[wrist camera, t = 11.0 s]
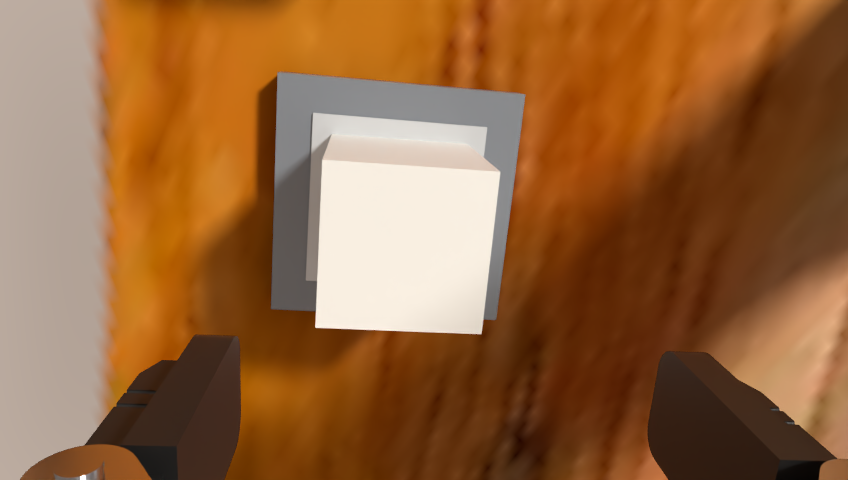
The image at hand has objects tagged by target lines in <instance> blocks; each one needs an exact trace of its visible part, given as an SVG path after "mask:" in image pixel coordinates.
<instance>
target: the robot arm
mask: <svg viewBox="0 0 848 480" xmlns="http://www.w3.org/2000/svg"><path fill="white" fill-rule="evenodd" d="M240 420H241V390H240V344H239V339H238V337H237V336H221V335H195V336H194V337H193V338H192V340H191V341H190V343H189V344H188V345H187V347H186V348H185V350H184V351H183V353H182V354H181V356H180V357H179V359H178V360H177V361H173V360H162V361H160V362H158V363H157V364H155V365H153V366H151V367H150V368H148V369H146V370H145V371H143V372H141V373H140V374H139V375H138V376H137V378H136V379H135V380H134V381H133V383H132V384H131V385H130V387H129V388H128V389H127V393H124V394H123V396H122V397H121V398H120V400H119V401H118V402H117V406H116V407H113V409H112V410H111V411H110V413H109V414H108V415H107V417H106V418H105V419H104V420H103V422H102V423H101V424H100V426H99V427H98V428H97V430H96V431H95V432H94V433H93V435H92V436H91V437H90V439H89V440H88V442H87V443H86V444H85V445H84V446H79V447H74V448H71V449H67V450H64V451H61V452H58V453H55V454H53V455H51V456H49V457H47V458H45V459H43V460H41V461H39V462H38V463H37V464H35V465H34V466H32V467H31V468H30V469H29V470H28V471H27V472H25V474H24V475H23V476H22V477H21V479H20V480H224V479H225V476H226V474H227V471H228V468H229V466H230V463H231V460H232V458H233V455H234V452H235V449H236V446H237V442H238V437H239V430H240ZM648 442H649V447H650V450H651V453H652V455H653V457H654V459H655V461H656V462H657V464H658V465H659V466H660V468H661V469H662V471H663V472H664V474H665V475H666V477H667V478H668V480H848V459H837V458H836V457H835V456H834V455H832V454H831V453H830V452H829V451H828V450H827V449H826V448H824V447H823V446H822V445H821V444H820V443H819V442H817V441H816V440H815V439H814V438H813V437H812V436H811V435H809V434H808V433H807V432H806V431H805V430H804V429H803V428H801V427H800V426H799V425H795V424H794V421H793V420H792V419H791V418H790V417H789V416H788V415H787V414H785V413H784V412H783V411H779V407H777V406H776V405H775V404H774V403H773V402H772V401H771V400H769V399H768V398H767V397H766V396H765V395H764V394H763V393H761V392H760V391H758V390H756V389H754V388H752V387H750V386H748V385H747V384H745V383H743V382H741V381H739V380H738V379H736V378H735V377H734V376H733V375H732V374H731V373H730V372H729V371H727V370H726V369H725V368H724V367H723V366H722V365H721V364H720V363H719V362H717V361H716V360H715V359H714V358H713V357H712V356H711V355H709V354H708V353H704V352H674V351H667V352H665V353H664V354H663V355H662V357H661V359H660V362H659V366H658V371H657V377H656V383H655V388H654V394H653V399H652V405H651V410H650V416H649V421H648Z"/></svg>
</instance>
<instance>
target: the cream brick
mask: <svg viewBox="0 0 848 480" xmlns="http://www.w3.org/2000/svg"><path fill="white" fill-rule="evenodd" d="M499 180H500V171H499V170H498V169H497V168H495V167H494V166H493V165H492V164H491V163H489V162H488V161H487V160H486V159H485V158H483V157H482V156H481V155H480V154H479V153H477V152H476V151H475V150H474V149H473V148H471V147H470V146H469V145H468V144H462V143H448V142H434V141H421V140H407V139H393V138H379V137H365V136H352V135H338V134H332V135H331V138H330V140H329V143H328V146H327V148H326V151H325V154H324V156H323V159H322V177H321V202H320V226H319V250H318V275H317V299H316V324H315V328H334V329H359V330H385V331H411V332H437V333H462V334H482V326H483V317H484V309H485V300H486V292H487V283H488V275H489V266H490V257H491V249H492V240H493V232H494V223H495V215H496V206H497V197H498V189H499Z"/></svg>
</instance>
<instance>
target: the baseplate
mask: <svg viewBox="0 0 848 480" xmlns="http://www.w3.org/2000/svg"><path fill="white" fill-rule="evenodd" d="M524 101H525V94H521V93H514V92H503V91H492V90H481V89H470V88H459V87H447V86H436V85H425V84H414V83H403V82H392V81H381V80H370V79H358V78H347V77H336V76H325V75H314V74H303V73H292V72H278V78H277V113H276V149H275V184H274V220H273V255H272V291H271V309H278V310H299V311H316V299H317V275H318V250H319V226H320V202H321V177H322V159H323V156H324V154H325V151H326V148H327V146H328V143H329V140H330V138H331V135H332V134H338V135H352V136H365V137H379V138H393V139H407V140H421V141H434V142H448V143H462V144H468V145H469V146H470V147H471V148H473V149H474V150H475V151H476V152H477V153H479V154H480V155H481V156H482V157H483V158H485V159H486V160H487V161H488V162H489V163H491V164H492V165H493V166H494V167H495V168H497V169H498V170H499V171H500V180H499V189H498V197H497V206H496V215H495V223H494V232H493V240H492V249H491V257H490V266H489V275H488V283H487V292H486V300H485V309H484V317H483V319H486V320H496V317H497V309H498V301H499V294H500V286H501V278H502V271H503V263H504V255H505V248H506V240H507V232H508V224H509V217H510V209H511V201H512V194H513V186H514V178H515V170H516V163H517V155H518V147H519V140H520V132H521V124H522V117H523V109H524Z"/></svg>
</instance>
